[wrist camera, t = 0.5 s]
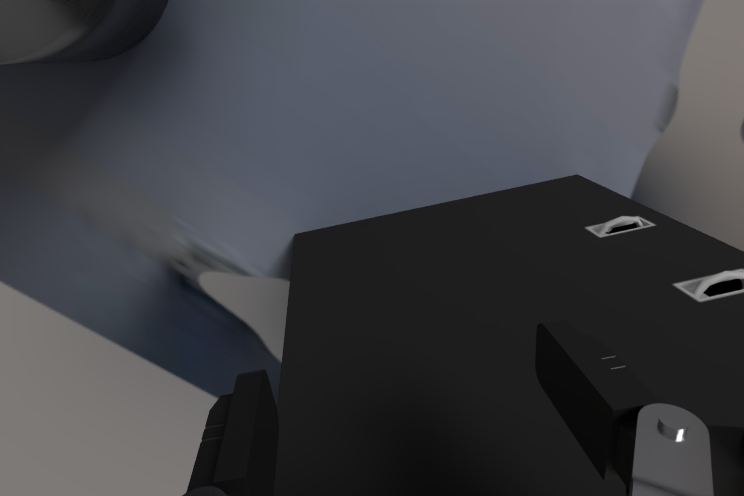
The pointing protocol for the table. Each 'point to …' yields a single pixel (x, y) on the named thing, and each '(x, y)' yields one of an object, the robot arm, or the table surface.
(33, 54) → the pot
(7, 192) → the table surface
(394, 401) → the binder
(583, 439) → the robot arm
